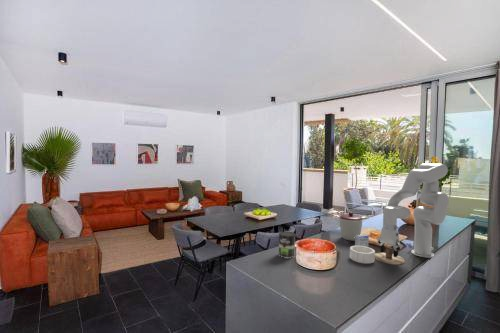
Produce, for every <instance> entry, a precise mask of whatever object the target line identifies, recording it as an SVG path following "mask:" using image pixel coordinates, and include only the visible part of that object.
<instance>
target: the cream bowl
mask: <svg viewBox="0 0 500 333" xmlns="http://www.w3.org/2000/svg"><path fill="white" fill-rule="evenodd" d="M375 254H376V250H375V249H373V248H371V247H369V246H368V247H366V246H355V245H352V246H350V247H349V259H351V261H352V262H356V263H359V264H373V263H375V261H376V259H375Z"/></svg>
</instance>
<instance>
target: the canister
mask: <svg viewBox="0 0 500 333" xmlns="http://www.w3.org/2000/svg"><path fill="white" fill-rule="evenodd" d="M338 219H339V229H340V230H339V231H340V236H341V238H342V239H343V240H346V241H350V242H351V241H352V242H355V238H354V237H355V235H360V234H361V235H362V228H363V221H364V218H363V217H361V216H360V215H356V214H354V213H353V212H352V211H350V212H348V214H341V215H339V216H338Z"/></svg>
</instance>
